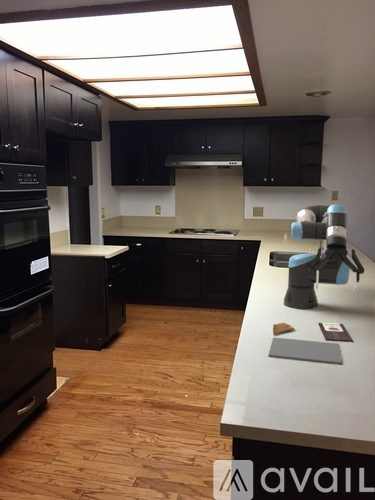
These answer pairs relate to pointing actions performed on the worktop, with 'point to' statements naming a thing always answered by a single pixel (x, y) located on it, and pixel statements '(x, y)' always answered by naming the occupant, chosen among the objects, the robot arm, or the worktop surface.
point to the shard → (282, 328)
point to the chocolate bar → (335, 332)
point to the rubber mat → (305, 350)
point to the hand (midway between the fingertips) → (335, 288)
